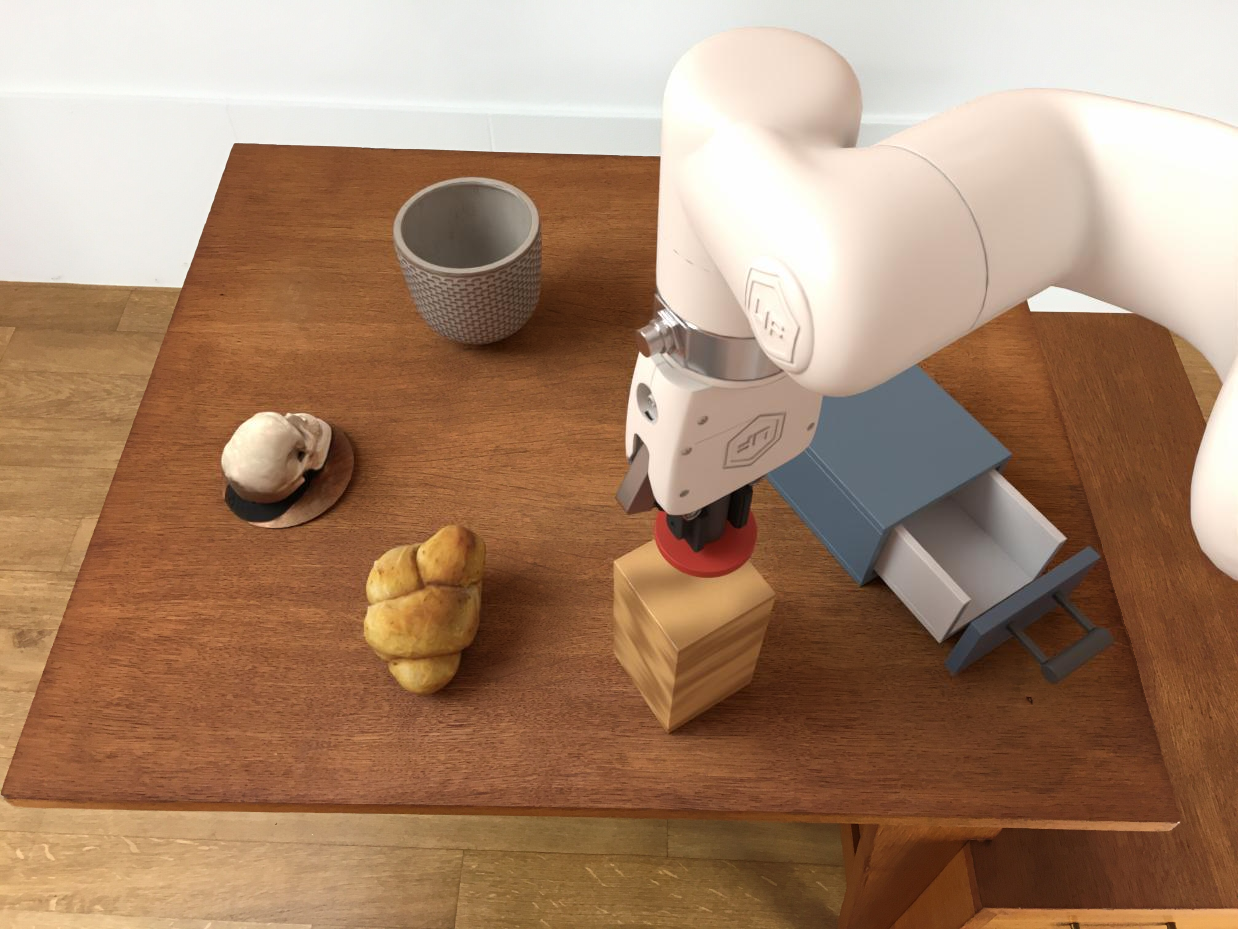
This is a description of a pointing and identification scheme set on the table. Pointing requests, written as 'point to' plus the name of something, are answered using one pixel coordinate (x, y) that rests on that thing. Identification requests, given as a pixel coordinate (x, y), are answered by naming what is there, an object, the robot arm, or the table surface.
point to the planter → (471, 257)
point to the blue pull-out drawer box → (988, 575)
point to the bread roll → (426, 607)
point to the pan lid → (709, 544)
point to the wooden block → (686, 632)
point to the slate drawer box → (883, 465)
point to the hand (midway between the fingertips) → (706, 521)
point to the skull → (284, 469)
